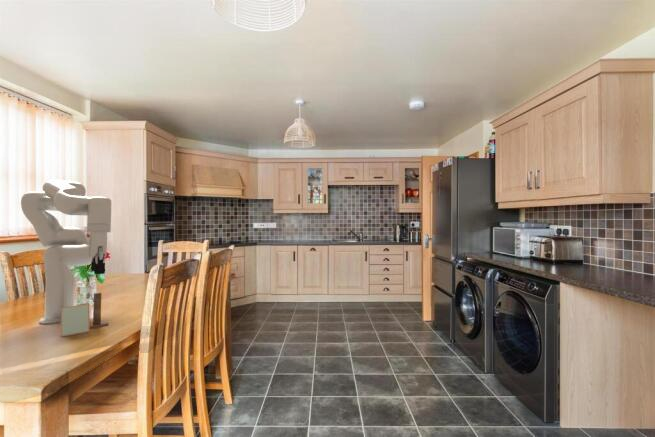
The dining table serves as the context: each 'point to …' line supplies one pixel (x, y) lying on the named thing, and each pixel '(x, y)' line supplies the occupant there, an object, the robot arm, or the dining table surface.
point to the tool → (97, 312)
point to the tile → (74, 320)
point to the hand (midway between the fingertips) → (97, 272)
